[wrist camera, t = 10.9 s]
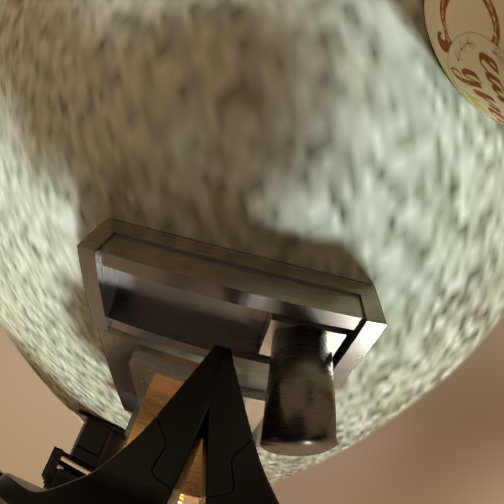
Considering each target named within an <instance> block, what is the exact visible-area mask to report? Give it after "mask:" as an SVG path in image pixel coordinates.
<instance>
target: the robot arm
mask: <svg viewBox="0 0 504 504" xmlns="http://www.w3.org/2000/svg"><path fill="white" fill-rule="evenodd" d="M77 413H78V415H79V416H80V417H81V419H82V420H83V421H84V424H83V426H82V428H81V430H80V433H79V435H78V437H77V439H76V441H75V444H74V446H73V448H72V450H71V453H70V455H69V454H67V453H65V452H64V451H63V450H62V449H59V448H57V447H54V449H53V451H52V454H51V456H50V458H49V460H48V462H47V464H46V466H45V469H44V470H43V473H42V478H43V480H44V482H43V483H44V484H45V485H44V487H43V488H44V489H43V488H40V487H38V486H35V485H33V484H31V483H29V482H27V481H24V480H22V479H20V478H18V477H16V476H14V475H12V474H9V473H5V474H4V473H3V472H2V471H1V470H0V504H177V503H178V500H179V498H180V495H181V493H182V490H183V487H184V485H185V482H186V480H187V477H188V475H189V472H190V469H191V467H192V464H193V462H194V459H195V457H196V454H197V451H198V449H199V446H200V443H201V441H202V438H203V443H202V457H201V473H200V490H199V504H279V502H278V500H277V498H276V496H275V494H274V492H273V490H272V488H271V485H270V483H269V481H268V479H267V477H266V475H265V472H264V470H263V467H262V465H261V462H260V459H259V456H258V453H257V450H256V446H255V442H254V440H253V435H252V432H251V428H250V424H249V420H248V417H247V413H246V409H245V405H244V401H243V397H242V393H241V389H240V385H239V381H238V377H237V372H236V368H235V364H234V360H233V355H232V351H231V349H230V348H229V347H225V346H221V345H215V346H214V347H213V348H212V350H211V351H210V352H209V353H208V354H207V356H206V357H205V358H204V359H203V361H202V362H201V363H200V364H199V365H198V367H197V368H196V369H195V370H194V371H193V373H192V374H191V375H190V376H189V377H188V379H187V380H186V381H185V382H184V383H183V385H182V386H181V387H180V388H179V389H178V391H177V392H176V393H175V394H174V395H173V396H172V398H171V399H170V400H169V401H168V402H167V404H166V405H165V406H164V407H163V408H162V409H161V411H160V412H159V413H158V414H157V415H156V416H157V417H154V418H153V420H152V421H151V422H150V423H149V424H148V425H147V426H146V427H145V428H144V430H143V431H142V432H141V433H140V434H139V435H138V436H137V437H136V438H134V439H133V440H132V441H131V442H130V443H129V444H128V445H127V446H126V444H127V441H128V439H129V438H126V436H125V434H124V433H125V431H124V430H122V429H119V428H117V427H114V426H112V425H110V424H108V423H105V422H103V421H101V420H99V419H97V418H95V417H92V416H90V415H88V414H86V413H84V412H82V411H80V410H78V412H77ZM124 446H125V447H124ZM61 457H63V458H64V459H66V460H68V461H69V462H71V463H73V464H75V465H76V466H78V467H80V468H82V469H84V470H85V471H87V472H89V474H88V475H86V474H84V473H83V472H81V471H79V470H77V469H75V468H73V467H72V466H70V465H68V464H67V463H65V462H63V461H61V460H60V459H61ZM57 466H59V467H60V469H57ZM61 468H62V469H63V470H62V469H61Z"/></svg>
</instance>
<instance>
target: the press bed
mask: <svg viewBox="0 0 504 504" xmlns="http://www.w3.org/2000/svg"><path fill="white" fill-rule="evenodd" d="M98 331H99V335H100V339H101V342H102V346H103V349H104V353H105V356H106V359H107V362H108V366H109V369H110V372H111V375H112V378H113V380H114V383H115V386H116V389H117V392H118V394H119V397H120V400H121V402H122V405H123V407H124V410H126V411H128V412H131V413H132V416H131V418H130V421H129V423H128V425H127V428H126V430H125V433H124V434H125V436H126V438H129V436H130V433H131V431H132V428H133V426H134V423H135V421H136V418H137V415H138V413H139V410H140V408H141V405H142V403H143V401H144V398H145V396H146V393H147V391H148V388H149V386H150V384H151V382H153V383H156V384H159V385H162V386H165V387H168V388H171V389H174V390H178V389H179V388H180V387H181V386H182V385H183V383H184V382H185V381H186V380H187V379H188V377H189V376H190V375H191V374H192V373H193V371H194V370H195V369H196V368H197V367H198V365H199V364H200V363H201V362H202V361H203V359H204V357H200V356H197V355H193V354H190V353H186V352H183V351H180V350H176V349H173V348H170V347H167V346H163V345H160V344H157V343H154V342H151V341H148V340H145V339H142V338H140V337H137V336H134V335H131V334H128V333H126V332H123V331H120V330H118V329H115V328H112V327H110V329H109V330H108V331H107V330H104V329H102V328H99V327H98ZM235 368H236V372H237V377H238V381H239V385H240V389H241V393H242V397H243V401H244V405H245V409H246V413H247V417H248V420H249V424H250V428H251V432H252V435H253V440H254V442H255V446H256V447H261V446H260V438H261V431H262V423H263V415H264V407H265V399H266V391H267V382H268V373H267V372H262V371H258V370H253V369H248V368H244V367H240V366H235Z"/></svg>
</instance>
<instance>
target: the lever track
mask: <svg viewBox="0 0 504 504" xmlns="http://www.w3.org/2000/svg"><path fill="white" fill-rule="evenodd" d="M77 248H78V254H79V261H80V267H81V272H82V278H83V283H84V288H85V292H86V297H87V301H88V306H89V310H90V314H91V318H92V322H93V325H94V326H97V327H99V328H102V329H104V330H107V331H108V330H109V329H110V327H112V328H115V329H118V330H120V331H123V332H126V333H128V334H131V335H134V336H137V337H140V338H142V339H145V340H148V341H151V342H154V343H157V344H160V345H163V346H167V347H170V348H173V349H176V350H180V351H183V352H186V353H190V354H193V355H197V356H200V357H204V358H205V357H206V356H207V354H208V353H209V352H210V351H211V350H212V348H213V347H214V346H215V345H221V346H225V347H229V348H230V349H231V351H232V355H233V360H234V364H235V366H240V367H244V368H248V369H253V370H258V371H262V372H267V373H269V364H270V356H266V355H262V354H258V353H259V346H260V339H261V334H262V331H263V329H264V326H265V323H266V320H267V318H268V315H269V312H270V313H275V314H279V315H283V316H288V317H292V318H297V319H301V320H306V321H311V322H316V323H320V324H325V325H330V326H335V327H340V328H345V329H346V332H347V336H346V337H345V339H344V340H343V342H342V343H341V345H340V346H339V348H338V349H337V351H336V352H335V354H334V355H333V357H332V360H333V374H334V389H338V387H339V386H340V385H341V384H342V383H343V382H344V380H345V379H346V378H347V377H348V376H349V374H350V373H351V372H352V371H353V369H354V368H355V367H356V366H357V364H358V363H359V362H360V361H361V359H362V358H363V357H364V355H365V354H366V353H367V352H368V350H369V349H370V348H371V346H372V345H373V344H374V342H375V341H376V339H377V338H378V337H379V335H380V334H381V332H382V331H383V330H384V328H385V327H386V325H387V323H386V320H385V317H384V314H383V310H382V307H381V304H380V301H379V298H378V295H377V292H376V289H375V286H374V285H370V284H366V283H362V282H358V281H354V280H350V279H346V278H342V277H338V276H334V275H330V274H326V273H322V272H318V271H314V270H310V269H306V268H302V267H298V266H294V265H290V264H286V263H282V262H278V261H274V260H270V259H266V258H262V257H258V256H254V255H250V254H246V253H242V252H238V251H235V250H231V249H227V248H223V247H219V246H215V245H211V244H207V243H203V242H199V241H195V240H191V239H187V238H183V237H179V236H175V235H171V234H167V233H163V232H160V231H156V230H152V229H148V228H144V227H140V226H136V225H132V224H128V223H124V222H120V221H116V220H112V219H109V218H108V219H107V220H106V221H104V222H103V223H102V224H101V225H100V226H99V227H97V228H96V229H95V230H94V231H93V232H92V233H91V234H89V235H88V236H87V237H86V238H85V239H84V240H83V241H82V242H80V243H79V244H78V245H77Z"/></svg>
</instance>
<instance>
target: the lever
mask: <svg viewBox="0 0 504 504" xmlns="http://www.w3.org/2000/svg"><path fill="white" fill-rule="evenodd" d="M346 336H347V332H346V329H345V328H340V327H335V326H330V325H325V324H320V323H316V322H311V321H306V320H301V319H297V318H292V317H288V316H283V315H279V314H275V313H270V312H269V315H268V318H267V320H266V323H265V326H264V329H263V331H262V334H261V339H260V346H259V353H258V354H262V355H266V356H270V364H269V373H268V382H267V391H266V399H265V407H264V415H263V423H262V431H261V438H260V446H261V447H262V448H263V449H265V450H266V451H269V452H272V453H275V454H280V455H287V456H308V455H315V454H320V453H323V452H326V451H329V450H331V449H332V448H334V447H335V446H336V444H337V439H336V409H335V389H334V374H333V360H332V357H333V355H334V354H335V352H336V351H337V349H338V348H339V346H340V345H341V343H342V342H343V340H344V339H345V337H346Z"/></svg>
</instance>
